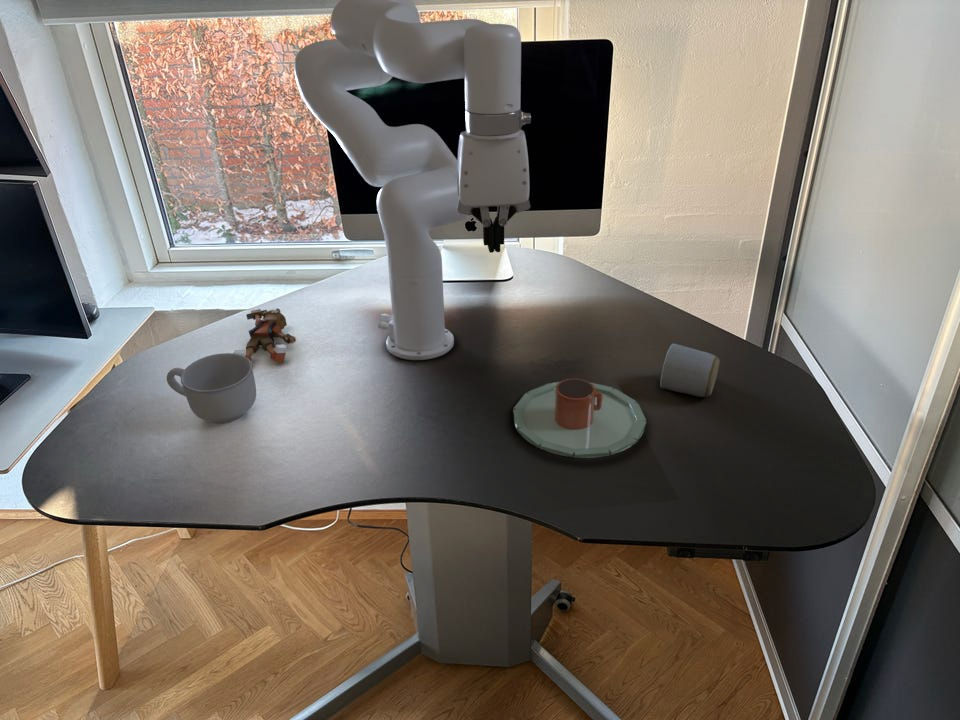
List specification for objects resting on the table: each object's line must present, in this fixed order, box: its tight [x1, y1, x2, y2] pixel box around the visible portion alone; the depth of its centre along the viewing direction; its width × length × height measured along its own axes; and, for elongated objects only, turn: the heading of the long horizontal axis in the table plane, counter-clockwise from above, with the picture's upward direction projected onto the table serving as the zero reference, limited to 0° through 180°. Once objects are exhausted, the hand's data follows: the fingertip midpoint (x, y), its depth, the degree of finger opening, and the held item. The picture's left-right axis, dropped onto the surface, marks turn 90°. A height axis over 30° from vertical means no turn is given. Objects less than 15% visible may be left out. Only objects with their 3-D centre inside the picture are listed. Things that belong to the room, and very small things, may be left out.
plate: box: [512, 381, 647, 459], centre depth 111 cm, size 20×20×2 cm
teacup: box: [166, 352, 257, 423], centre depth 115 cm, size 14×11×8 cm
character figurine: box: [233, 308, 297, 364], centre depth 136 cm, size 12×5×18 cm
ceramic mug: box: [659, 343, 720, 398], centre depth 119 cm, size 11×8×8 cm
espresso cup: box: [554, 378, 603, 430], centre depth 110 cm, size 7×6×6 cm
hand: (493, 249), depth 108 cm, fingers closed
